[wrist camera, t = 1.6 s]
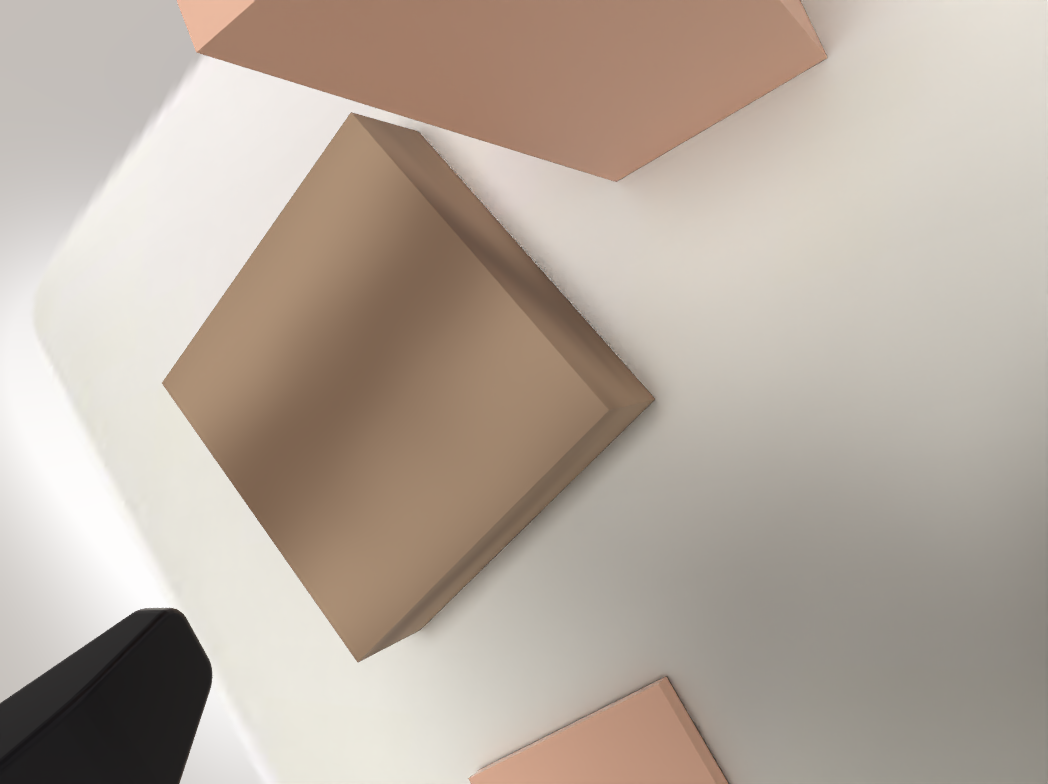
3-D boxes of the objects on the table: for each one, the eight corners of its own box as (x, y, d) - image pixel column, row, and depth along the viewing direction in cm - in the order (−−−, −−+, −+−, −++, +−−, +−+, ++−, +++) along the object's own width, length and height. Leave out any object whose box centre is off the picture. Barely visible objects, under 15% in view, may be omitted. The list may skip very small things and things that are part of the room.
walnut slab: (661, 397, 21) (608, 410, 19) (429, 625, 25) (357, 662, 22) (426, 133, 24) (351, 112, 21) (245, 375, 27) (161, 382, 25)
